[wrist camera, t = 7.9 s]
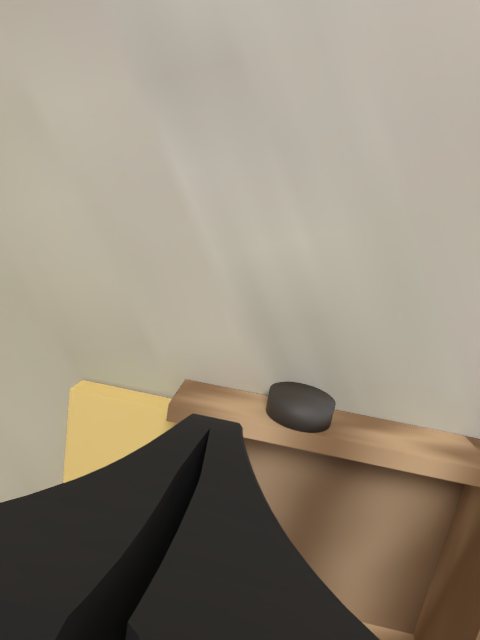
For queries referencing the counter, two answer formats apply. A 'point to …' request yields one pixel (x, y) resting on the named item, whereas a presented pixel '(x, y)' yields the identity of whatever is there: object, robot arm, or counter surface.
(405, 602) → the brown wooden drawer
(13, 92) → the counter surface
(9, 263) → the counter surface
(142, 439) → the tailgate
